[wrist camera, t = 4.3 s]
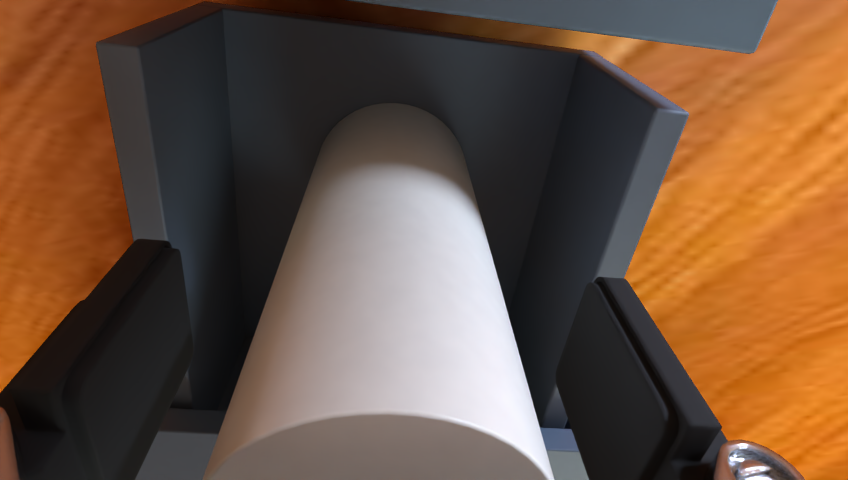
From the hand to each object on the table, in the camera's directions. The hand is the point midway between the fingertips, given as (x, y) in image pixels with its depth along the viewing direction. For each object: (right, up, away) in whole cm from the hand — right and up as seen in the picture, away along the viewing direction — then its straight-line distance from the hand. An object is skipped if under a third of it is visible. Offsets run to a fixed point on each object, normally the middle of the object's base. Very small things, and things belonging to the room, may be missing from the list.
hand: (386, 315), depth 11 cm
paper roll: (0, +4, +6) cm, 7 cm away
